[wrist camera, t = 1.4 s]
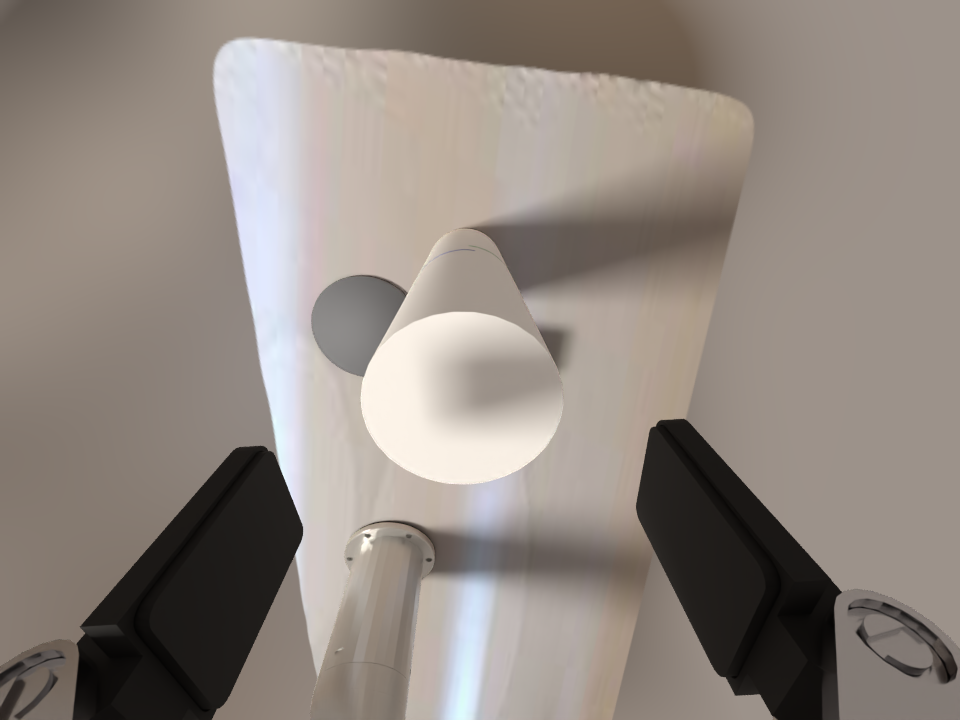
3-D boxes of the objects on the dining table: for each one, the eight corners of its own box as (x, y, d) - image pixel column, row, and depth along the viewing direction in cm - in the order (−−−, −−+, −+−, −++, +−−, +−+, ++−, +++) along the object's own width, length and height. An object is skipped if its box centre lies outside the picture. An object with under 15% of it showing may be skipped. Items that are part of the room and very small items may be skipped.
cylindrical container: (424, 231, 34) (339, 319, 11) (500, 225, 34) (567, 303, 11) (433, 305, 37) (380, 490, 14) (503, 300, 37) (560, 477, 14)
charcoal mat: (390, 392, 41) (389, 393, 41) (296, 343, 38) (294, 344, 38) (440, 313, 37) (440, 315, 37) (340, 253, 35) (339, 254, 34)
